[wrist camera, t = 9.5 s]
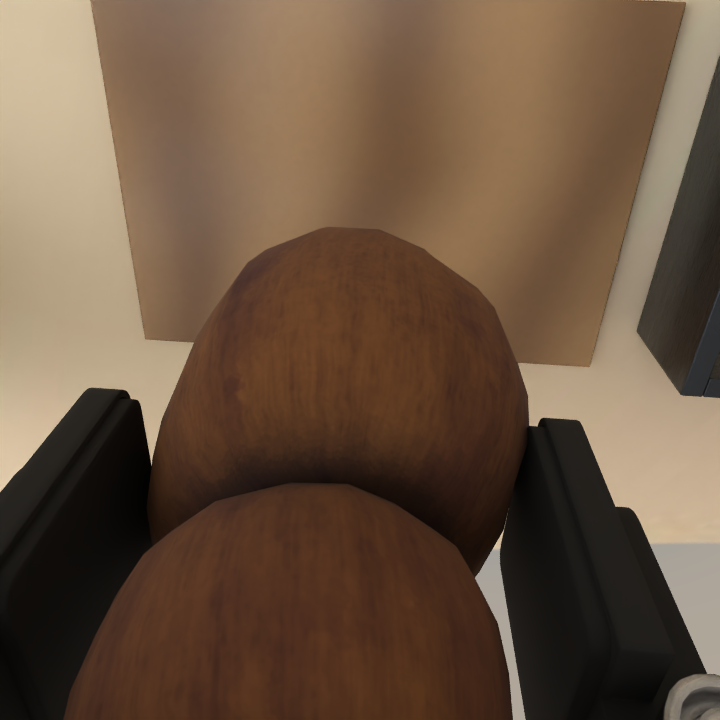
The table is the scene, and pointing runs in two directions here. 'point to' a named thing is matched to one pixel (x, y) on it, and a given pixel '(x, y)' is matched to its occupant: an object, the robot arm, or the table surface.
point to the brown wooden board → (387, 143)
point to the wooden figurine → (324, 501)
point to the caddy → (691, 270)
